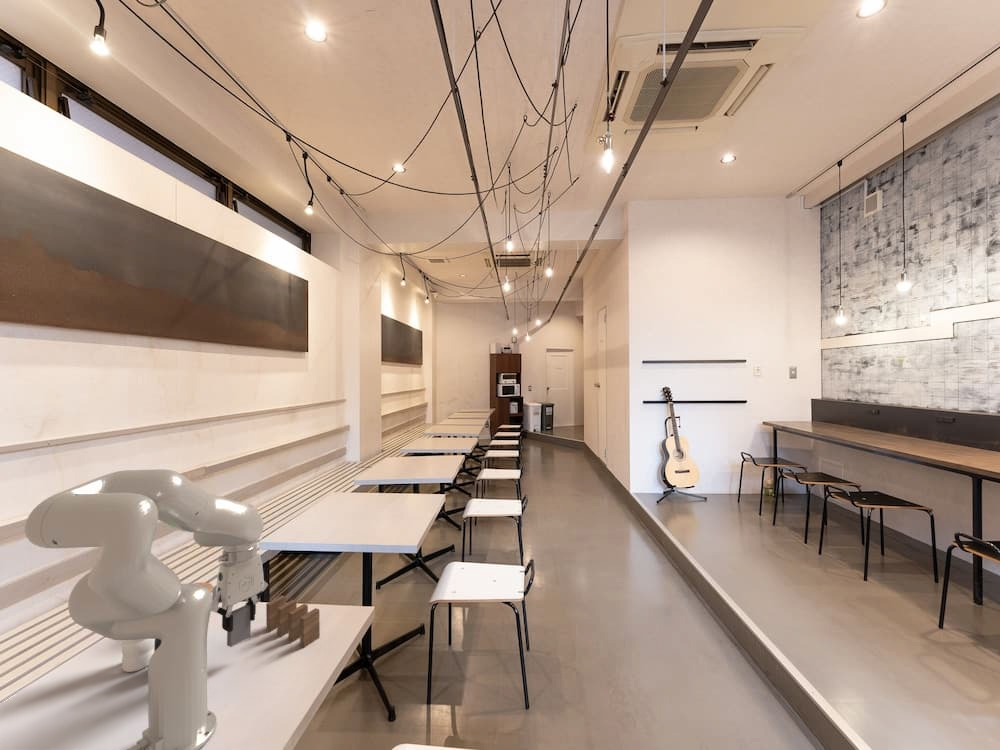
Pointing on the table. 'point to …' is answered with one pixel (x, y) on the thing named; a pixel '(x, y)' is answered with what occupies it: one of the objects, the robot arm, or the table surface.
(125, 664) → the water bottle
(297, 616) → the domino
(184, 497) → the robot arm
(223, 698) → the table surface
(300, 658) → the table surface
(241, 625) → the domino
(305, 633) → the domino
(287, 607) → the domino
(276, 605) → the domino
